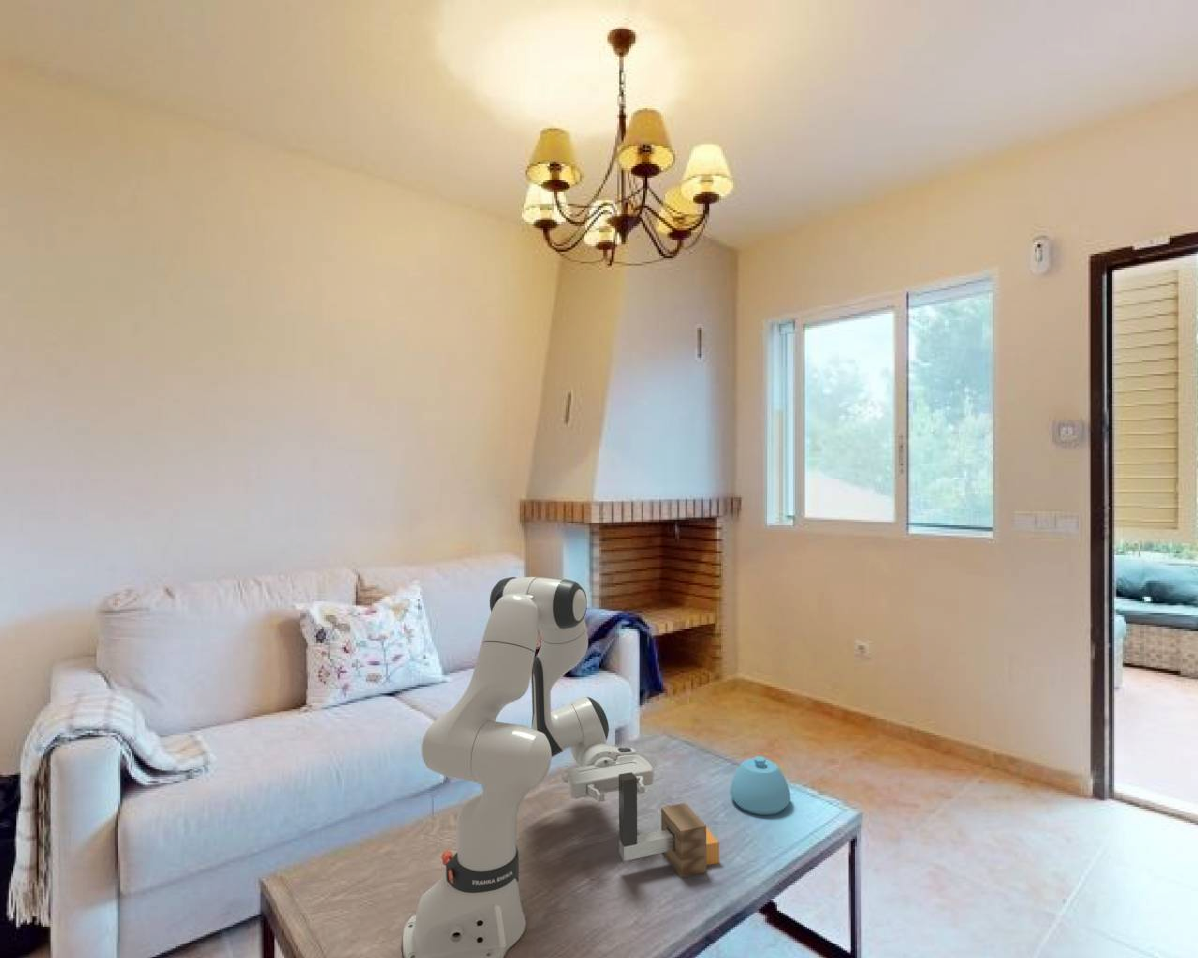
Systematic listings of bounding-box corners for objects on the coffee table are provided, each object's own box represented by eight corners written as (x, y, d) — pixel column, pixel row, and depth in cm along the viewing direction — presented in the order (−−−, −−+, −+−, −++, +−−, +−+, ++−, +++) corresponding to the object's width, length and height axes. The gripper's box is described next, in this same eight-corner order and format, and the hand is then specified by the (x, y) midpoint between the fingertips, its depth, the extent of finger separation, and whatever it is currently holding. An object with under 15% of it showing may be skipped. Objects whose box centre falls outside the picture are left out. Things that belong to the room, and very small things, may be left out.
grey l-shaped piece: (624, 860, 135) (623, 780, 135) (619, 852, 138) (618, 774, 138) (692, 845, 140) (692, 768, 140) (686, 838, 143) (685, 762, 143)
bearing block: (681, 877, 136) (680, 830, 135) (661, 851, 145) (661, 807, 145) (706, 871, 138) (706, 825, 137) (685, 846, 147) (685, 802, 147)
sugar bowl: (799, 800, 167) (799, 756, 167) (774, 824, 156) (774, 777, 155) (746, 782, 177) (746, 740, 177) (719, 804, 165) (719, 759, 165)
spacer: (702, 865, 140) (702, 844, 140) (690, 849, 146) (690, 829, 146) (719, 862, 141) (719, 841, 141) (707, 846, 147) (706, 826, 147)
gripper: (559, 760, 150) (576, 788, 137) (640, 747, 157) (663, 772, 144) (559, 786, 150) (576, 817, 137) (640, 772, 157) (663, 800, 144)
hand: (621, 794), depth 141 cm, fingers open, 8 cm apart
